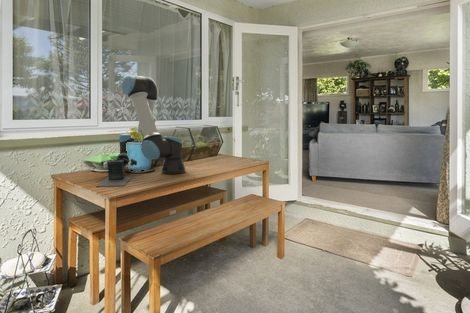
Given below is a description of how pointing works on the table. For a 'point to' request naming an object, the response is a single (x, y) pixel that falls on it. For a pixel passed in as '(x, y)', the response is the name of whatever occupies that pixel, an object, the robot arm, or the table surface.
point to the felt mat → (113, 182)
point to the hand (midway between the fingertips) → (116, 165)
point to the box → (116, 170)
